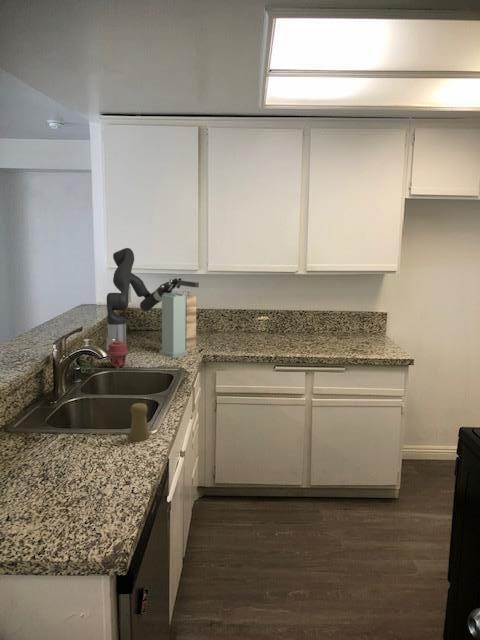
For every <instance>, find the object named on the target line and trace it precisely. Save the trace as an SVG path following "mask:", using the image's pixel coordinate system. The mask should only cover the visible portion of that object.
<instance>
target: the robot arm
mask: <svg viewBox="0 0 480 640" xmlns="http://www.w3.org/2000/svg"><path fill="white" fill-rule="evenodd" d="M112 254H113V255H112V259H113V261H114V263H115V264H116V266H117V268H116V269H115V270H114V273H113V278H112V282H113V285H114V286H115V287H116V289H118V291H119V292H108V293H107V295H106V309H107V311H106V312H107V337H106V352H107V351H108V350H109V344H110V343H113V342H115V341H121V342H123V343H126V344H127V319H126V317H124V316H122V315H119V314H117V313H116V312H115V311H126V310H128V307H129V301H130V300H129V299H130V298H129V294H130V286H131V287H132V289H133V291H134V293H135V294H136V296H137V297H138V298H142V297H143V298H144V299H143V300H142V301H141V302H140V304H139V306H140V309H141V310H142V311H143V312H149V311H150V310H152V308H154V307H155V306H156V305H158V304H159V303H161V302H162V295H163V293H170V292H173V291H174V290H175V289H176V288H177V289H180V288H181V286H182V285H174V284H175V283H177V282H178V281H177V280H182V278H174V280H173V281H170V280H169V281H166V282H164V283H162V284H160V285H159V286H158V287H157V288H156V289H154V291H153V292H150V291H149V290H148V289H147V286H146V285H145V283H144V281H143V280H142V278H140V277H139V276H137V275H136V274H135V273H133V272H132V271H133V266H134V262H135V254H134V252H133V250H132V249H131V248H130V247H125V248H123V249H120V250H118V251H115V252H114V253H112ZM108 357H110V355H108ZM125 357H127V355H125Z"/></svg>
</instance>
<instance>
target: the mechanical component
mask: <svg viewBox="0 0 480 640" xmlns="http://www.w3.org/2000/svg"><path fill="white" fill-rule="evenodd" d="M127 346H128V345H127V342H126V343H123V342H121V341H115V342H113V343H110V344H109V350H108V351H107V350H106V355H107V354H108V355H110V356H109V357H110V358H109V359H110V365H111V366H112V367H113V366H114V368H115V369H116V368H119V369H120V367H121V368H124V367H123V366H125V367H126V361H127V360H126V356H127V355H129V349H128V347H127ZM125 355H126V356H125Z"/></svg>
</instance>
